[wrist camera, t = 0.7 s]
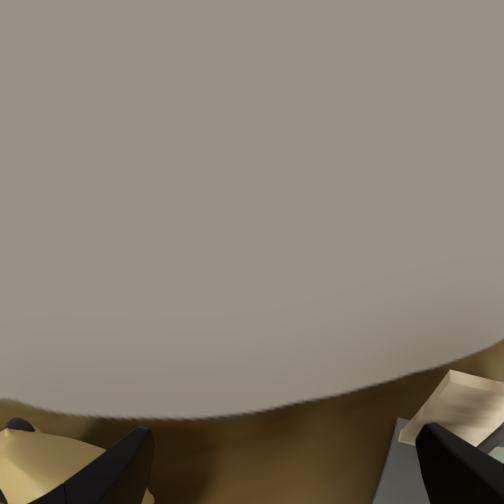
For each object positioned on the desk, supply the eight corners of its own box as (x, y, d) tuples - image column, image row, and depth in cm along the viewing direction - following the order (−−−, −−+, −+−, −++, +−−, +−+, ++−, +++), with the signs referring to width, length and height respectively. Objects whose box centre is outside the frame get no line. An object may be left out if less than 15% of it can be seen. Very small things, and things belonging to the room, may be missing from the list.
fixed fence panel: (397, 445, 19) (456, 377, 14) (402, 426, 21) (456, 355, 16) (484, 460, 15) (552, 398, 10) (485, 442, 16) (547, 378, 12)
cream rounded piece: (59, 439, 17) (-3, 365, 12) (182, 489, 16) (149, 437, 11) (22, 517, 9) (-66, 464, 4) (153, 587, 8) (90, 599, 3)
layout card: (351, 547, 11) (353, 547, 11) (396, 419, 22) (399, 417, 22) (538, 542, 2) (541, 540, 2) (545, 443, 13) (548, 441, 12)
